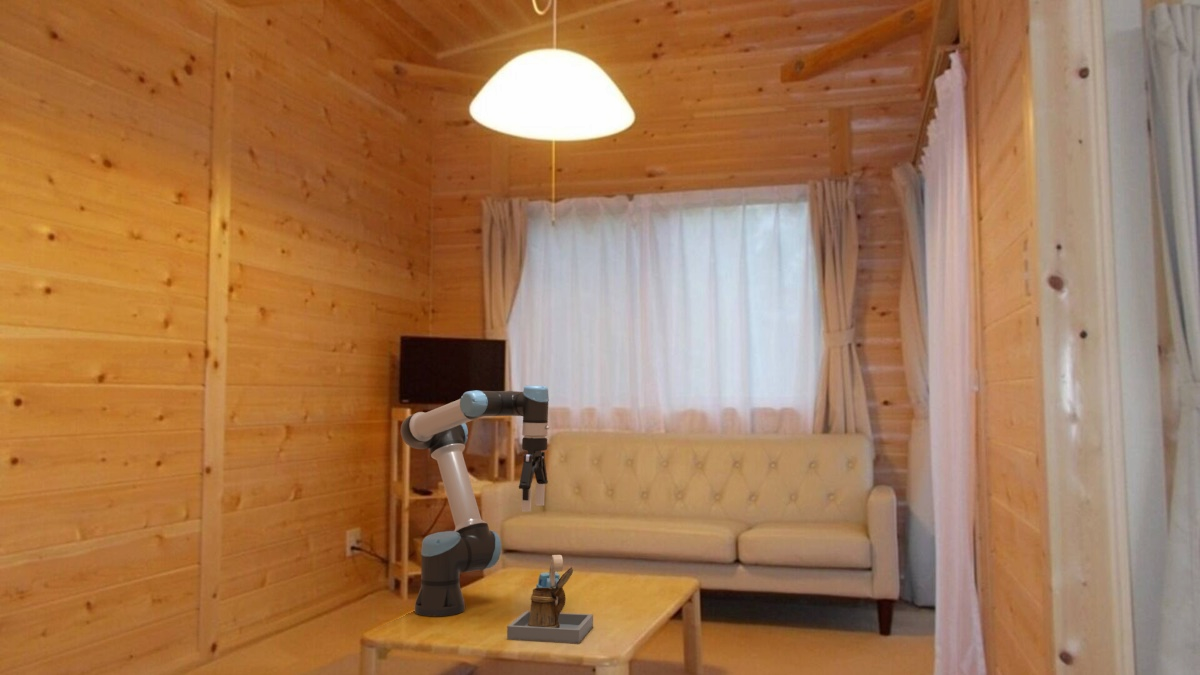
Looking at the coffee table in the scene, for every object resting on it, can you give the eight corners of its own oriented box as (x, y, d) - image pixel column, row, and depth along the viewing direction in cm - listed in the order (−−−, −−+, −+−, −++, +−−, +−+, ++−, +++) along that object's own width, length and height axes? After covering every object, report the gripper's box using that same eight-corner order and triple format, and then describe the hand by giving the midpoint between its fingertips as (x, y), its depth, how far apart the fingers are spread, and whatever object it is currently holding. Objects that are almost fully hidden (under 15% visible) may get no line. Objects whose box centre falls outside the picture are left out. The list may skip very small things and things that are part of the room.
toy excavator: (542, 614, 270) (543, 557, 271) (532, 602, 286) (532, 548, 287) (570, 612, 272) (570, 555, 274) (558, 600, 288) (558, 547, 290)
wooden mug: (565, 637, 241) (565, 570, 243) (521, 632, 247) (521, 566, 248) (579, 629, 249) (579, 564, 251) (536, 624, 255) (536, 560, 256)
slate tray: (507, 639, 242) (507, 626, 242) (525, 623, 259) (525, 610, 259) (579, 643, 238) (579, 630, 238) (593, 626, 255) (593, 614, 255)
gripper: (534, 439, 254) (532, 514, 253) (558, 435, 279) (556, 503, 278) (509, 438, 256) (507, 513, 255) (535, 434, 280) (533, 502, 279)
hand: (533, 508), depth 266 cm, fingers open, 13 cm apart
